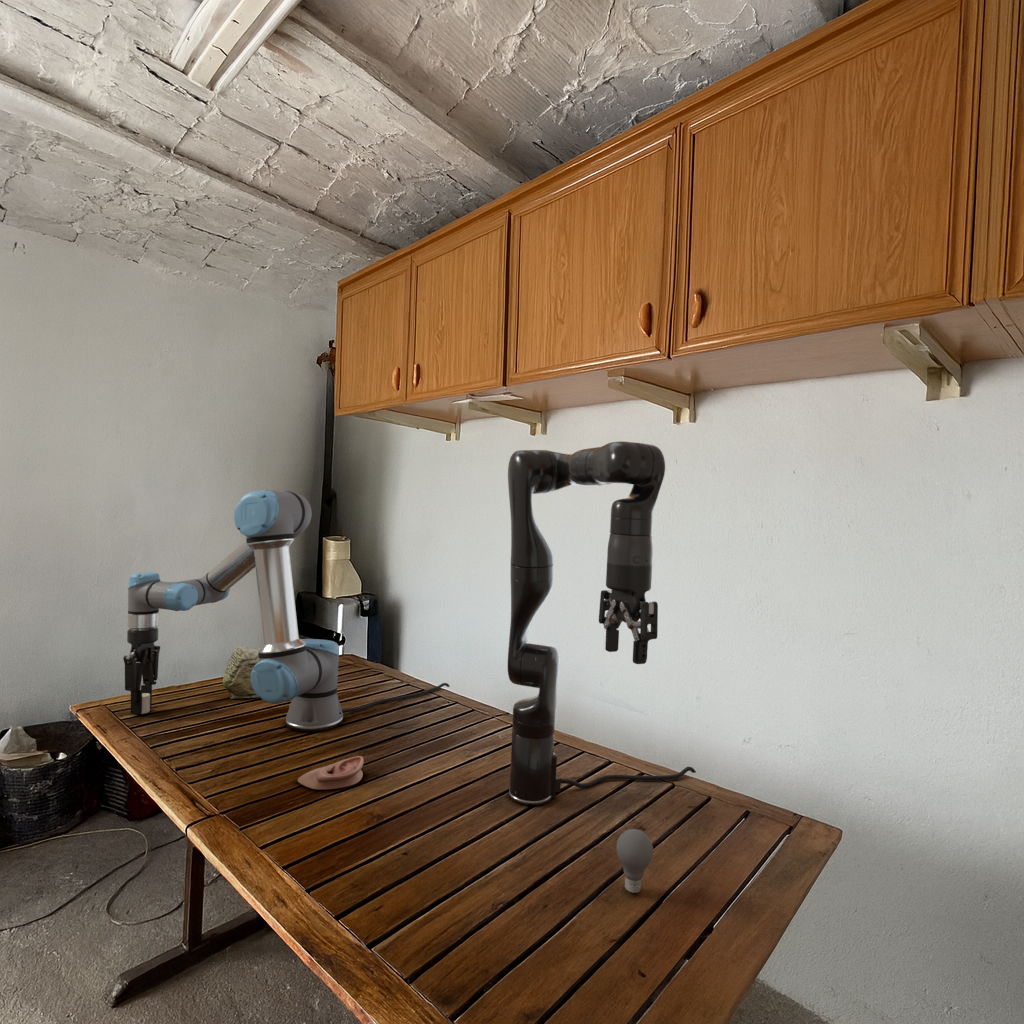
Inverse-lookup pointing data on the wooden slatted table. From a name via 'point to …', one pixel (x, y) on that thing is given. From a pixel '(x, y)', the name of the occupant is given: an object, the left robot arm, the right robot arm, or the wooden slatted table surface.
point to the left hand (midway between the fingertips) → (141, 710)
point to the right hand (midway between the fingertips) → (624, 657)
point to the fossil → (240, 673)
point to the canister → (145, 703)
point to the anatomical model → (334, 775)
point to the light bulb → (634, 857)
